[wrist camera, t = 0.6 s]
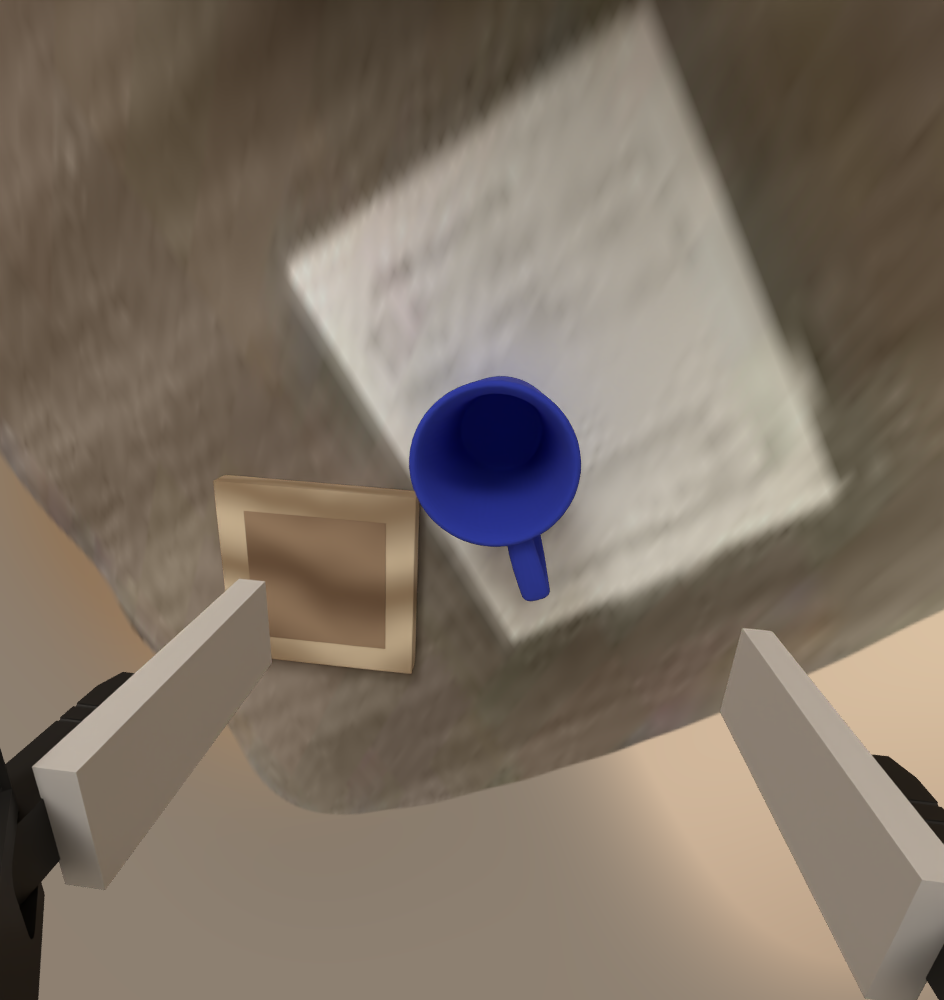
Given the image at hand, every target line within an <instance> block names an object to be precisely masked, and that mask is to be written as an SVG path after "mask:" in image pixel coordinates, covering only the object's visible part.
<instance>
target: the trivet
mask: <svg viewBox="0 0 944 1000" xmlns="http://www.w3.org/2000/svg"><path fill="white" fill-rule="evenodd" d="M213 483H214V492H215V501H216V511H217V520H218V529H219V538H220V547H221V556H222V566H223V575H224V584H225V591H226V590H227V589H228V588H229V587H231V586H232V585H233V584H234V583H235V582H236V581H237V580H238V579H247V580H257V581H265V585H266V597H267V609H268V621H269V634H270V646H271V658H272V659H279V660H288V661H297V662H307V663H316V664H325V665H334V666H343V667H352V668H362V669H371V670H380V671H389V672H398V673H408V674H411V673H412V670H413V667H414V664H415V652H416V614H417V577H418V539H419V500H418V498H417V496H416V494H415V491H411V490H399V489H387V488H375V487H363V486H351V485H340V484H328V483H316V482H304V481H292V480H281V479H269V478H257V477H245V476H233V475H224V476H222V477H220V478H218V479H216V480H214V481H213Z"/></svg>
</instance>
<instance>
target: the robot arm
mask: <svg viewBox="0 0 944 1000" xmlns="http://www.w3.org/2000/svg"><path fill="white" fill-rule="evenodd" d="M271 664H272V658H271V646H270V634H269V621H268V609H267V597H266V585H265V581H257V580H247V579H238V580H237V581H236V582H235V583H234V584H233V585H232V586H231V587H229V588H228V589H227V590H226V591H225V592H224V593H223V594H222V595H221V596H220V597H218V598H217V599H216V600H215V601H214V602H213V603H212V604H211V605H210V606H209V607H207V608H206V609H205V610H204V611H203V612H202V613H201V614H200V615H199V616H198V617H196V618H195V619H194V620H193V621H192V622H191V623H190V624H189V625H188V626H187V627H185V628H184V629H183V630H182V631H181V632H180V633H179V634H178V635H177V636H176V637H174V638H173V639H172V640H171V641H170V642H169V643H168V644H167V645H166V646H164V647H163V648H162V649H161V650H160V651H159V652H158V653H157V654H156V655H155V656H154V657H152V658H151V659H150V660H149V661H148V662H147V663H146V664H145V665H144V666H143V667H141V668H140V669H139V670H138V671H137V672H136V673H126V672H122V673H120V674H118V675H116V676H115V677H113V678H111V679H109V680H107V681H106V682H103V683H102V684H100V685H98V686H97V687H95V688H94V689H93V690H92V691H91V692H89V693H88V694H87V695H86V696H85V697H84V698H82V699H81V700H80V701H79V702H78V703H77V705H76V707H74V706H73V707H72V708H71V709H70V710H69V711H67V712H66V713H65V714H64V715H62V716H61V717H60V720H59V721H56V722H54V723H53V724H52V725H51V726H50V727H48V728H47V729H46V730H45V731H44V732H43V733H41V734H40V735H39V736H38V737H37V738H36V739H34V740H33V741H32V742H31V743H30V744H29V745H27V746H26V747H25V748H24V749H23V750H22V751H20V752H19V753H18V754H17V755H16V756H15V757H14V758H12V759H11V760H10V761H9V762H8V763H6V764H5V762H4V760H3V756H2V752H1V749H0V1000H38V995H39V978H40V977H39V976H40V962H41V961H40V960H41V944H42V928H43V911H44V896H45V895H44V891H43V887H42V883H41V881H42V880H43V879H44V878H45V876H47V874H48V873H49V872H50V871H51V870H52V868H53V867H54V866H55V865H56V864H57V863H58V862H59V863H60V867H61V870H62V874H63V878H64V881H65V884H67V885H74V886H81V887H89V888H95V889H103V890H105V889H106V888H107V887H108V886H109V884H110V883H111V882H112V880H113V879H114V877H115V876H116V875H117V873H118V872H119V871H120V869H121V868H122V867H123V865H124V864H125V862H126V861H127V860H128V858H129V857H130V856H131V854H132V853H133V852H134V850H135V849H136V847H137V846H138V845H139V843H140V842H141V841H142V839H143V838H144V837H145V835H146V834H147V833H148V831H149V830H150V828H151V827H152V826H153V824H154V823H155V822H156V820H157V819H158V817H159V816H160V815H161V813H162V812H163V811H164V809H165V808H166V807H167V805H168V804H169V802H170V801H171V800H172V798H173V797H174V796H175V794H176V793H177V792H178V790H179V789H180V788H181V786H182V785H183V783H184V782H185V781H186V779H187V778H188V777H189V775H190V774H191V773H192V771H193V769H194V768H195V767H196V766H197V764H198V763H199V762H200V760H201V759H202V757H203V756H204V755H205V753H206V752H207V751H208V749H209V748H210V747H211V745H212V744H213V743H214V741H215V740H216V738H217V737H218V736H219V734H220V733H221V732H222V730H223V729H224V728H225V726H226V725H227V724H228V722H229V721H230V719H231V718H232V717H233V715H234V714H235V713H236V711H237V710H238V709H239V707H240V706H241V704H242V703H243V702H244V700H245V699H246V698H247V696H248V695H249V694H250V692H251V691H252V689H253V688H254V687H255V685H256V684H257V683H258V681H259V680H260V679H261V677H262V676H263V674H264V673H265V672H266V670H267V669H268V668H269V666H270V665H271ZM720 713H721V715H722V716H723V718H724V721H725V723H726V725H727V727H728V729H729V730H730V732H731V735H732V736H733V739H734V741H735V742H736V744H737V746H738V748H739V750H740V752H741V754H742V756H743V758H744V760H745V762H746V764H747V766H748V768H749V770H750V772H751V774H752V776H753V778H754V780H755V782H756V784H757V786H758V788H759V790H760V792H761V794H762V796H763V798H764V800H765V802H766V804H767V806H768V808H769V810H770V812H771V814H772V816H773V818H774V820H775V822H776V824H777V826H778V827H779V830H780V832H781V834H782V836H783V838H784V839H785V842H786V844H787V846H788V847H789V849H790V852H791V853H792V855H793V857H794V859H795V861H796V863H797V865H798V867H799V869H800V871H801V873H802V875H803V877H804V879H805V881H806V883H807V885H808V887H809V889H810V891H811V893H812V895H813V897H814V899H815V901H816V903H817V905H818V907H819V909H820V911H821V913H822V915H823V917H824V919H825V921H826V923H827V925H828V927H829V929H830V931H831V933H832V935H833V937H834V939H835V940H836V943H837V945H838V947H839V948H840V951H841V953H842V955H843V957H844V958H845V960H846V962H847V964H848V966H849V968H850V970H851V972H852V974H853V976H854V978H855V980H856V982H857V984H858V986H859V988H860V990H861V992H862V994H863V996H864V998H865V999H872V1000H917V999H918V997H919V995H920V993H921V991H922V990H923V988H924V986H925V984H926V982H927V981H928V983H929V985H930V986H931V988H932V989H933V991H934V993H935V994H936V996H937V998H938V999H939V1000H944V809H943V808H942V807H939V806H938V804H937V803H938V802H937V801H936V800H935V799H934V798H933V796H932V795H931V794H930V793H929V792H928V791H927V789H926V788H925V787H924V786H923V785H922V784H921V782H920V781H919V780H918V779H917V778H916V777H915V776H913V775H912V774H911V773H909V772H908V771H907V770H906V769H904V768H903V767H901V766H900V765H899V764H898V763H896V762H895V761H894V760H893V759H891V758H890V757H888V756H880V755H871V754H870V752H869V751H868V750H867V749H866V747H865V746H864V745H863V744H862V742H861V741H860V740H859V739H858V737H857V736H856V735H855V734H854V733H853V731H852V730H851V729H850V727H849V726H848V725H847V724H846V722H845V721H844V720H843V719H842V718H841V717H840V715H839V714H838V713H837V711H836V710H835V709H834V708H833V706H832V705H831V704H830V703H829V701H828V700H827V699H826V698H825V696H824V695H823V694H822V693H821V691H820V690H819V689H818V688H817V686H816V685H815V684H814V683H813V681H812V680H811V679H810V678H809V676H808V675H807V674H806V673H805V672H804V670H803V669H802V668H801V667H800V665H799V664H798V663H797V662H796V660H795V659H794V658H793V657H792V655H791V654H790V653H789V652H788V650H787V649H786V648H785V647H784V645H783V644H782V643H781V642H780V640H779V639H778V638H777V637H776V635H775V634H774V633H773V632H772V631H767V630H757V629H747V628H742V631H741V634H740V638H739V642H738V646H737V649H736V653H735V657H734V661H733V665H732V668H731V672H730V676H729V680H728V683H727V687H726V691H725V695H724V699H723V702H722V706H721V710H720Z"/></svg>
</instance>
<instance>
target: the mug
mask: <svg viewBox="0 0 944 1000" xmlns="http://www.w3.org/2000/svg"><path fill="white" fill-rule="evenodd" d="M409 469H410V477H411V481H412V485H413V488H414V491H415V494H416V496H417V498H418V500H419V502H420V504H421V506H422V507H423V508H424V510H425V511H426V513H427V514H428V515H429V516H430V518H431V519H432V520H433V521H434V522H435V523H436V524H438V525H439V526H440V527H441V528H442V529H444V530H445V531H447V532H448V533H450V534H451V535H453V536H455V537H457V538H459V539H461V540H463V541H466V542H469V543H473V544H477V545H482V546H490V547H501V546H508V551H509V556H510V559H511V563H512V567H513V570H514V574H515V577H516V580H517V583H518V586H519V589H520V592H521V594H522V597H523V598H524V599H525V600H527V601H535V600H539V599H543V598H545V597H546V596H548V595H549V592H550V588H549V582H548V575H547V568H546V562H545V556H544V551H543V545H542V540H541V535H540V534H542V533H544V532H545V531H547V530H548V529H549V528H550V527H552V526H553V525H554V524H555V523H556V522H557V521H558V520H559V519H560V518H561V517H562V516H563V514H564V513H565V512H566V510H567V509H568V507H569V506H570V504H571V502H572V500H573V498H574V496H575V493H576V491H577V487H578V484H579V479H580V473H581V456H580V449H579V444H578V441H577V437H576V435H575V432H574V430H573V428H572V426H571V424H570V422H569V421H568V419H567V418H566V416H565V415H564V413H563V412H562V411H561V410H560V409H559V408H558V406H557V405H556V404H555V403H553V402H552V401H551V400H550V399H549V398H548V397H546V396H545V395H544V394H543V393H541V392H540V391H539V390H538V389H536V388H535V387H534V386H532V385H530V384H529V383H527V382H525V381H523V380H520V379H517V378H513V377H506V376H497V377H489V378H486V379H482V380H479V381H475V382H472V383H469V384H466V385H463V386H461V387H458V388H456V389H454V390H452V391H451V392H449V393H447V394H446V395H444V396H443V397H442V398H440V399H439V400H438V401H437V402H436V403H435V404H434V405H433V406H432V407H431V408H430V409H429V410H428V411H427V412H426V414H425V415H424V417H423V418H422V420H421V421H420V423H419V425H418V427H417V429H416V431H415V434H414V437H413V440H412V444H411V448H410V457H409Z"/></svg>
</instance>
